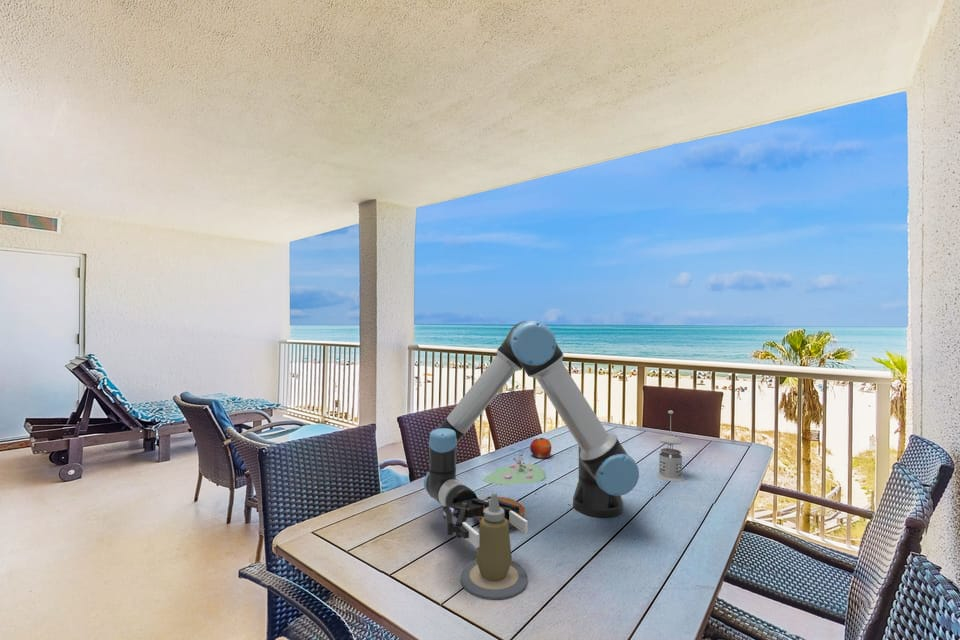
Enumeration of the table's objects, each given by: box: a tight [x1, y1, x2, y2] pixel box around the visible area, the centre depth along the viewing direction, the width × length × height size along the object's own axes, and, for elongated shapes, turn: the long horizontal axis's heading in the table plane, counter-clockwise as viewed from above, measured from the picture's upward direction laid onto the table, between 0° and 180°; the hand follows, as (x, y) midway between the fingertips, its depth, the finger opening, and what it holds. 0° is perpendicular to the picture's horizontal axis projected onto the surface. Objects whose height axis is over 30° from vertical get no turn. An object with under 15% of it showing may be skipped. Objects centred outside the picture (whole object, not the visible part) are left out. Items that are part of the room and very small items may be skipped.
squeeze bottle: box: [475, 492, 513, 581], centre depth 99 cm, size 8×8×18 cm
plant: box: [482, 450, 547, 486], centre depth 166 cm, size 25×21×9 cm
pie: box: [476, 496, 526, 529], centre depth 128 cm, size 15×16×5 cm
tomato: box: [529, 437, 553, 459], centre depth 190 cm, size 9×9×8 cm
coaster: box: [460, 559, 529, 601], centre depth 99 cm, size 15×15×1 cm
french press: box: [656, 410, 686, 482], centre depth 166 cm, size 10×12×25 cm
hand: (503, 534), depth 96 cm, fingers open, 12 cm apart
